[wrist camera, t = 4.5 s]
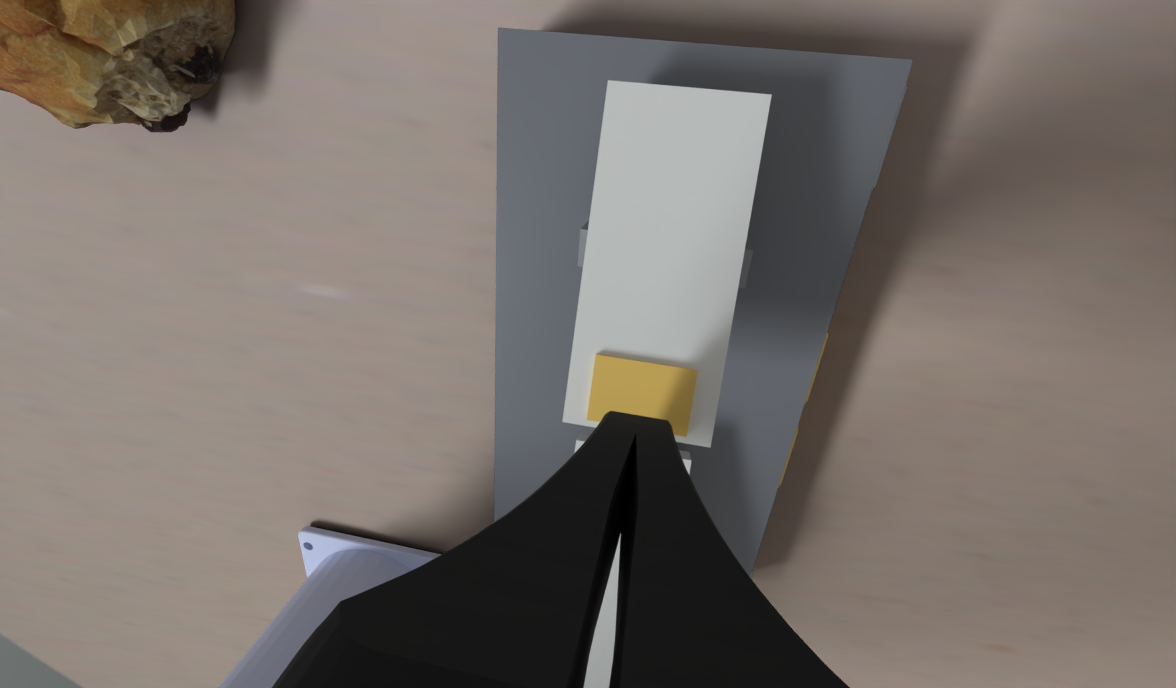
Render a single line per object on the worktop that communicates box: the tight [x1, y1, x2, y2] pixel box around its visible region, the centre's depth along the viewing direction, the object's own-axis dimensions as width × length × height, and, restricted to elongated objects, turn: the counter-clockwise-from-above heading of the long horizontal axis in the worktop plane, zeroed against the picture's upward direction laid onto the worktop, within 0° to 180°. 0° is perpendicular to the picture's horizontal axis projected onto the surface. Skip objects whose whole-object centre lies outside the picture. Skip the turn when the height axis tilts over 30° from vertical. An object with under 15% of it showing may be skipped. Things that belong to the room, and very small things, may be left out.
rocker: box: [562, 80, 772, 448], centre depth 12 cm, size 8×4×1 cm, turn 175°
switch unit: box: [494, 28, 913, 578], centre depth 17 cm, size 20×10×4 cm, turn 175°
